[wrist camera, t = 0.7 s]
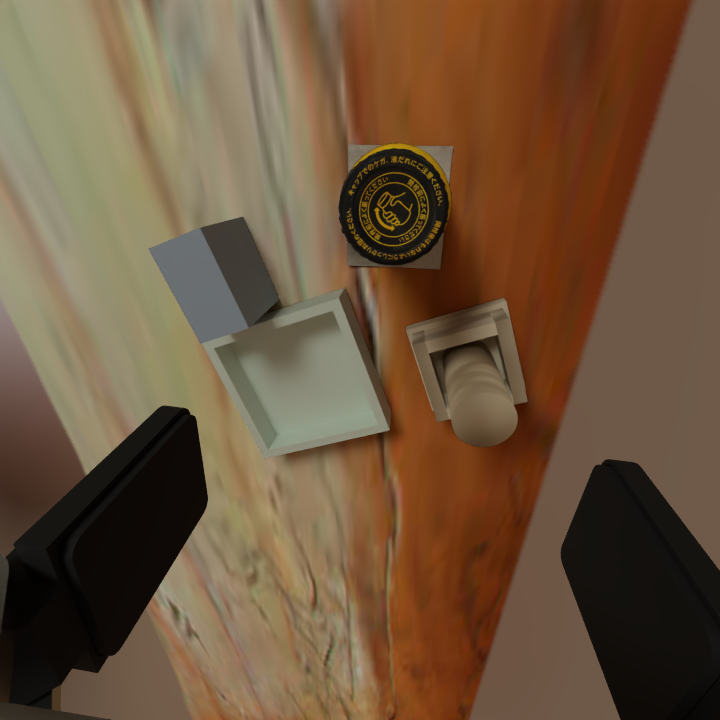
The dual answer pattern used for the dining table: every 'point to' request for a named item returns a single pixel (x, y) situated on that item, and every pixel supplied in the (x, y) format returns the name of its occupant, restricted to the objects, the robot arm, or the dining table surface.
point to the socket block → (462, 328)
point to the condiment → (396, 205)
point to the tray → (303, 376)
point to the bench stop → (217, 278)
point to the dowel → (477, 396)
